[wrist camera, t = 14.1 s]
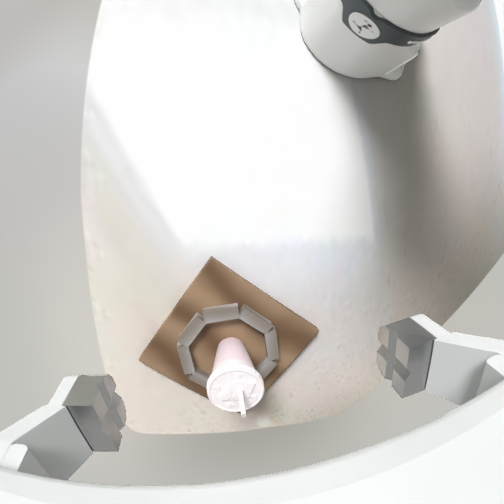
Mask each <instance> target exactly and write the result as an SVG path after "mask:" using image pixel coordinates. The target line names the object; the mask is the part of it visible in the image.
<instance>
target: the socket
mask: <svg viewBox="0 0 504 504" xmlns="http://www.w3.org/2000/svg"><path fill="white" fill-rule="evenodd" d="M318 331H319V330H318V329H317V327H316V326H314V325H313V324H311V323H309V322H308V321H306V320H305V319H303V318H302V317H300V316H299V315H297V314H296V313H294V312H293V311H291V310H290V309H288V308H287V307H285V306H284V305H282V304H281V303H279V302H278V301H276V300H275V299H273V298H272V297H270V296H269V295H267V294H266V293H264V292H263V291H261V290H260V289H259V288H257V287H256V286H254V285H253V284H251V283H250V282H248V281H247V280H245V279H244V278H242V277H241V276H239V275H238V274H236V273H235V272H234V271H232V270H231V269H229V268H228V267H226V266H225V265H223V264H222V263H220V262H219V261H218V260H216V259H215V258H213V257H212V256H211V258H210V259H209V260H208V262H207V263H206V264H205V266H204V267H203V268H202V270H201V271H200V273H199V274H198V275H197V277H196V278H195V280H194V281H193V282H192V284H191V285H190V286H189V288H188V289H187V291H186V292H185V293H184V295H183V296H182V298H181V299H180V300H179V302H178V303H177V305H176V306H175V307H174V309H173V310H172V312H171V313H170V315H169V316H168V317H167V319H166V320H165V322H164V323H163V324H162V326H161V327H160V329H159V330H158V332H157V333H156V334H155V336H154V337H153V339H152V340H151V342H150V343H149V344H148V346H147V347H146V349H145V350H144V352H143V353H142V355H141V356H140V359H139V361H140V362H142V363H144V364H145V365H147V366H149V367H150V368H152V369H154V370H156V371H157V372H159V373H161V374H163V375H164V376H166V377H168V378H170V379H172V380H173V381H175V382H177V383H179V384H181V385H183V386H185V387H187V388H188V389H190V390H192V391H194V392H196V393H198V394H200V395H202V396H204V397H206V398H208V395H207V388H206V386H207V381H208V379H209V377H210V375H211V374H212V370H213V366H214V361H215V357H216V352H217V348H218V345H219V343H220V342H221V341H222V340H224V339H226V338H230V337H233V338H237V339H239V340H241V341H242V342H243V344H244V346H245V348H246V350H247V353H248V355H249V357H250V359H251V361H252V364H253V366H254V368H255V370H256V371H257V372H258V373H259V374H260V375H261V377H262V379H263V383H264V392H265V391H266V390H267V389H268V388H269V387H270V385H271V384H272V383H273V382H274V381H275V380H276V379H277V378H278V377H279V376H280V375H281V374H282V372H283V371H284V370H285V369H286V368H287V367H288V366H289V365H290V364H291V362H292V361H293V360H294V359H295V358H296V357H297V356H298V355H299V353H300V352H301V351H302V350H303V349H304V348H305V347H306V345H307V344H308V343H309V342H310V341H311V340H312V338H313V337H314V336H315V335H316V334H317V333H318ZM208 399H209V398H208ZM238 413H240V414H241V412H238Z"/></svg>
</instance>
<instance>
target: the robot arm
mask: <svg viewBox="0 0 504 504" xmlns="http://www.w3.org/2000/svg"><path fill="white" fill-rule="evenodd" d="M294 1H295V3H296V5H297V7H298V9H299V11H300V29H301V33H302V36H303V39H304V41H305V43H306V45H307V46H308V48H309V49H310V51H311V52H312V53H313V54H314V55H315V56H316V58H317V59H319V60H320V61H321V62H322V63H323V64H324V65H326V66H327V67H329V68H330V69H332V70H334V71H335V72H338V73H340V74H342V75H345V76H348V77H353V78H371V77H382V78H385V79H388V80H397V79H398V78H400V77H401V75H402V72H403V69H404V67H405V64H406V63H407V62H409V61H410V60H412V59H414V58H415V57H416V56H417V55H418V50H419V48H420V44H421V43H422V42H424V41H426V40H428V39H429V38H431V36H433V35H434V34H436V33H437V32H438V31H439V29H440V27H442V26H444V25H446V24H448V23H450V22H452V21H455V20H457V19H459V18H461V17H463V16H465V15H467V14H470V13H472V12H474V11H475V10H476V9H477V7H478V6H479V4H480V3H481V0H294ZM378 340H379V341H380V342H381V346H380V348H379V349H378V351H377V363H378V368H379V370H380V372H381V374H382V375H383V376H384V378H386V379H389V380H392V387H393V388H394V390H395V391H396V392H397V393H398V394H399V395H400V397H401V398H404V397H407V396H410V395H412V394H415V393H418V392H420V391H423V390H425V391H427V392H429V393H432V394H434V395H437V396H439V397H441V398H444V399H446V400H449V401H451V402H453V403H456V404H459V405H461V406H459V407H457V408H455V409H453V410H452V411H450V412H448V413H446V414H444V415H442V416H440V417H438V418H436V419H434V420H432V421H430V422H428V423H425V424H423V425H421V426H419V427H417V428H415V429H412V430H410V431H408V432H405V433H403V434H400V435H398V436H396V437H393V438H391V439H388V440H386V441H383V442H380V443H378V444H375V445H372V446H369V447H367V448H364V449H361V450H358V451H355V452H352V453H349V454H346V455H343V456H339V457H336V458H332V459H329V460H325V461H322V462H318V463H314V464H311V465H307V466H303V467H299V468H295V469H290V470H286V471H281V472H276V473H272V474H266V475H260V476H255V477H249V478H242V479H235V480H228V481H220V482H210V483H199V484H185V485H162V486H132V485H108V484H95V483H85V482H75V481H68V479H69V478H70V477H71V476H72V474H73V473H74V472H75V471H76V470H77V469H78V468H79V467H80V466H81V465H82V464H83V463H84V462H85V461H86V460H87V459H88V458H89V457H90V456H91V455H92V454H93V451H101V452H102V451H103V452H109V451H118V450H119V446H120V442H121V438H122V435H121V433H120V431H119V430H120V429H122V427H124V426H125V422H126V409H125V405H124V402H123V400H122V398H121V397H120V396H119V395H118V394H117V393H115V392H114V391H115V388H116V384H115V382H114V380H113V378H112V376H110V375H109V374H102V375H73V376H72V375H70V376H66V377H64V379H63V381H62V382H61V384H60V385H59V387H58V389H57V390H56V392H55V394H54V395H53V397H52V399H51V400H50V402H49V404H48V406H47V405H44V406H42V407H40V408H39V409H37V410H36V411H34V412H33V413H31V414H29V415H28V416H26V417H24V418H23V419H21V420H19V421H18V422H16V423H15V424H13V425H11V426H10V427H8V428H6V429H5V430H3V431H2V432H0V504H504V340H500V339H493V338H487V337H481V336H474V335H469V334H463V333H458V332H452V333H449V332H448V331H447V330H445V329H444V328H442V327H441V326H440V325H438V324H437V323H435V322H434V321H432V320H431V319H429V318H428V317H427V316H425V315H424V314H417V315H414V316H412V317H409V318H407V319H404V320H401V321H398V322H394V323H391V324H388V325H385V326H382V327H380V329H379V332H378Z"/></svg>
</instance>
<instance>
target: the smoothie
mask: <svg viewBox="0 0 504 504" xmlns="http://www.w3.org/2000/svg"><path fill="white" fill-rule="evenodd" d="M206 388H207V395H208V398H209V400H210V401H211V403H212V404H213V405H215V406H216V407H217V408H219V409H221V410H224V411H228V412H241V417H243V418H244V417H246V416H247V414H246V410H248V409H250V408H252V407H254V406H255V405H257V404H258V403H259V402H260V400H261V399H262V397H263V395H264V383H263V379H262V377H261V375H260V374H259V373H258V372H257V371H256V370H255V368H254V366H253V364H252V361H251V359H250V357H249V355H248V353H247V350H246V348H245V346H244V344H243V342H242V341H241V340H239V339H237V338H233V337H230V338H226V339H224V340H222V341H221V342H220V343H219V345H218V348H217V352H216V357H215V361H214V366H213V370H212V374H211V375H210V377H209V379H208V381H207V386H206Z"/></svg>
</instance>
